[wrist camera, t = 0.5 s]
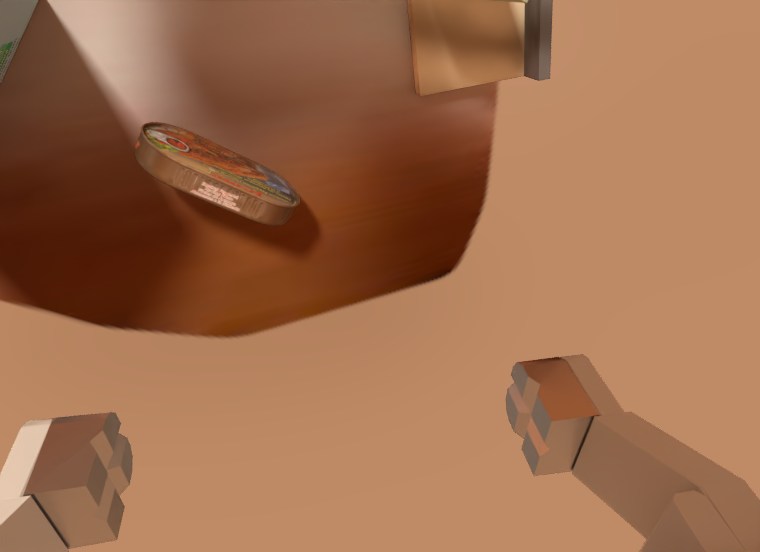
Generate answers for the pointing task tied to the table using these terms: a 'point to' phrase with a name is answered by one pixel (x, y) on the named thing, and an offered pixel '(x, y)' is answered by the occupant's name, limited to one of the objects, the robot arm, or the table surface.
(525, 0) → the carton
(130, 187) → the table surface
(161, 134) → the tin
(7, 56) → the gum box
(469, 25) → the shelf
